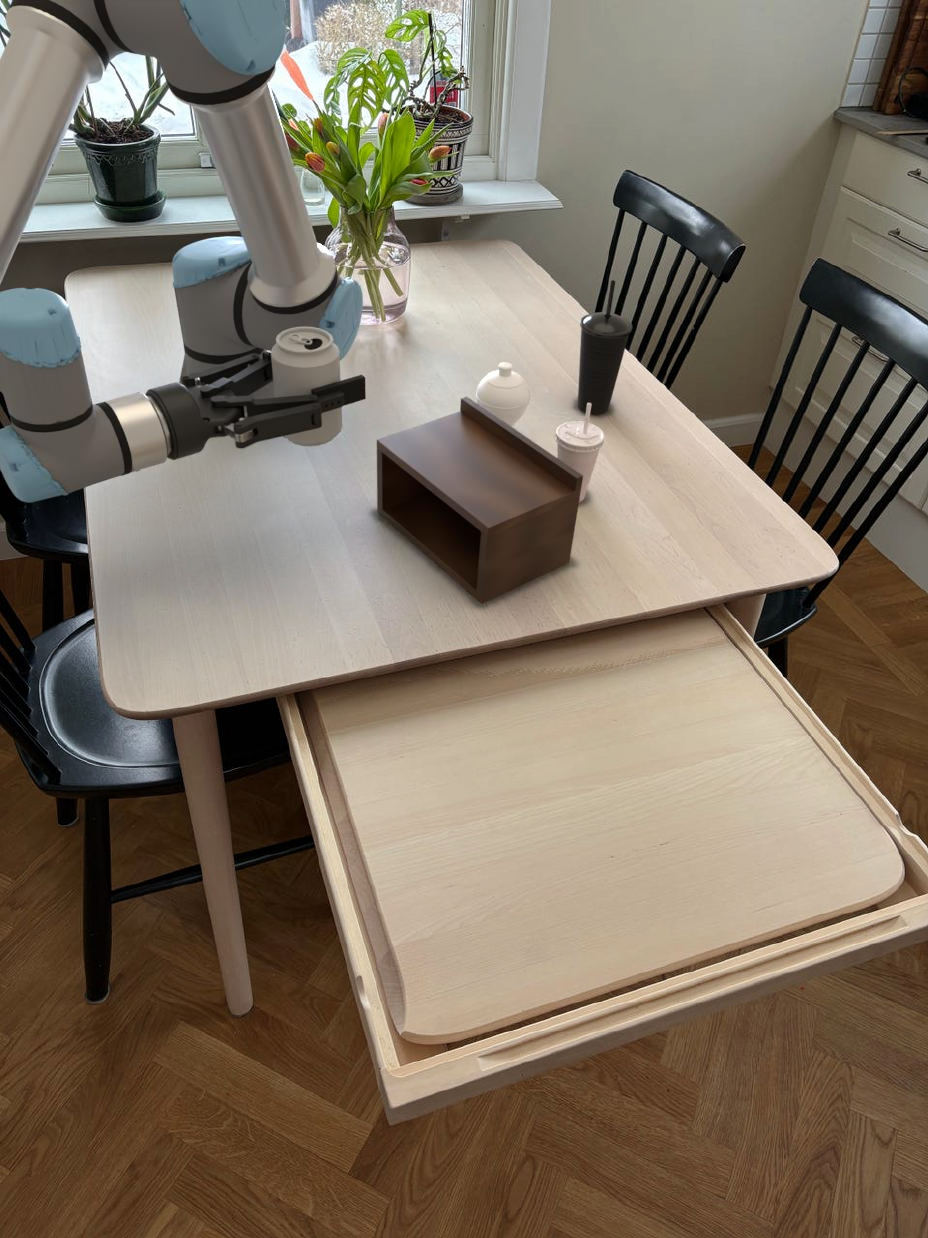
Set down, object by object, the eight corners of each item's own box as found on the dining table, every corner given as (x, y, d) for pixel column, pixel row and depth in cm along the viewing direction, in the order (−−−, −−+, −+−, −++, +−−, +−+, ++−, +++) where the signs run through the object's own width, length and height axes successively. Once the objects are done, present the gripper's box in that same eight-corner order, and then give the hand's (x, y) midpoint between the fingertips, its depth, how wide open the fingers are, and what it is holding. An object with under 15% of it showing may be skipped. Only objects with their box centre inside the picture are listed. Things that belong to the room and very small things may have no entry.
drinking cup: (583, 423, 145) (603, 294, 132) (559, 399, 151) (576, 273, 137) (626, 414, 148) (650, 288, 135) (601, 391, 153) (622, 267, 140)
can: (330, 454, 110) (326, 356, 102) (268, 444, 110) (259, 346, 103) (350, 422, 115) (347, 327, 107) (290, 412, 116) (283, 318, 108)
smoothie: (592, 511, 128) (608, 419, 119) (545, 504, 129) (557, 412, 120) (596, 485, 133) (611, 394, 124) (550, 479, 134) (562, 387, 124)
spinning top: (520, 457, 137) (528, 381, 129) (468, 449, 138) (473, 373, 130) (528, 431, 143) (537, 356, 135) (478, 423, 144) (483, 348, 136)
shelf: (461, 479, 132) (466, 396, 124) (569, 562, 120) (583, 475, 111) (377, 512, 125) (376, 426, 117) (482, 603, 113) (489, 514, 104)
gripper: (123, 416, 108) (301, 366, 119) (205, 503, 96) (393, 439, 107) (110, 354, 103) (297, 308, 114) (195, 438, 91) (394, 378, 103)
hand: (344, 372), depth 111 cm, fingers closed on can, 7 cm apart
